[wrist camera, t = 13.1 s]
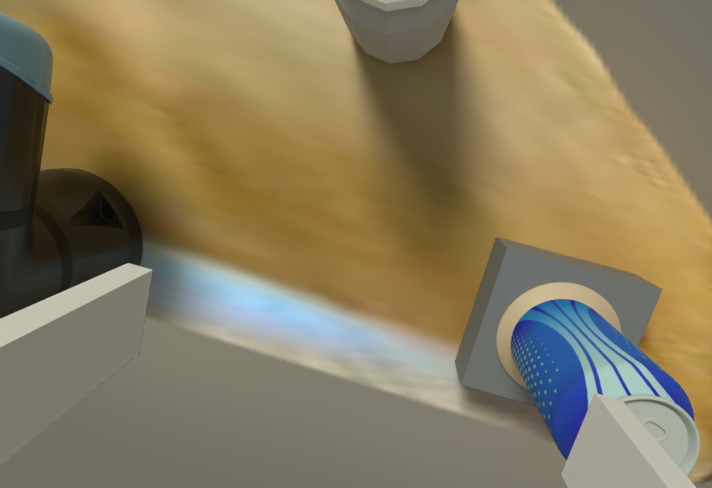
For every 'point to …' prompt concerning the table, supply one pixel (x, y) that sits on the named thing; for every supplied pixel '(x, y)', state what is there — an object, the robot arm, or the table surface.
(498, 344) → the riser
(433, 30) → the jar
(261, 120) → the table surface
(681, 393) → the beer can
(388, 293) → the table surface
